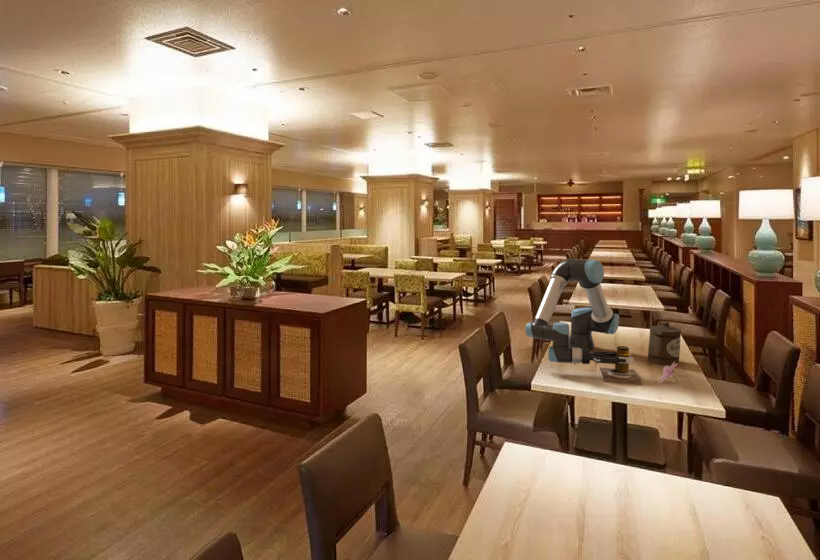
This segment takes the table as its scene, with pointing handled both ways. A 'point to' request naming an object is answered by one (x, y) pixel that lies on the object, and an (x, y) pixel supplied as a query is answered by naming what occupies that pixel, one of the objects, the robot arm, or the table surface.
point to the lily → (668, 372)
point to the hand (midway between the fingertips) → (632, 358)
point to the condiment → (622, 367)
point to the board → (620, 376)
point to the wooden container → (664, 344)
